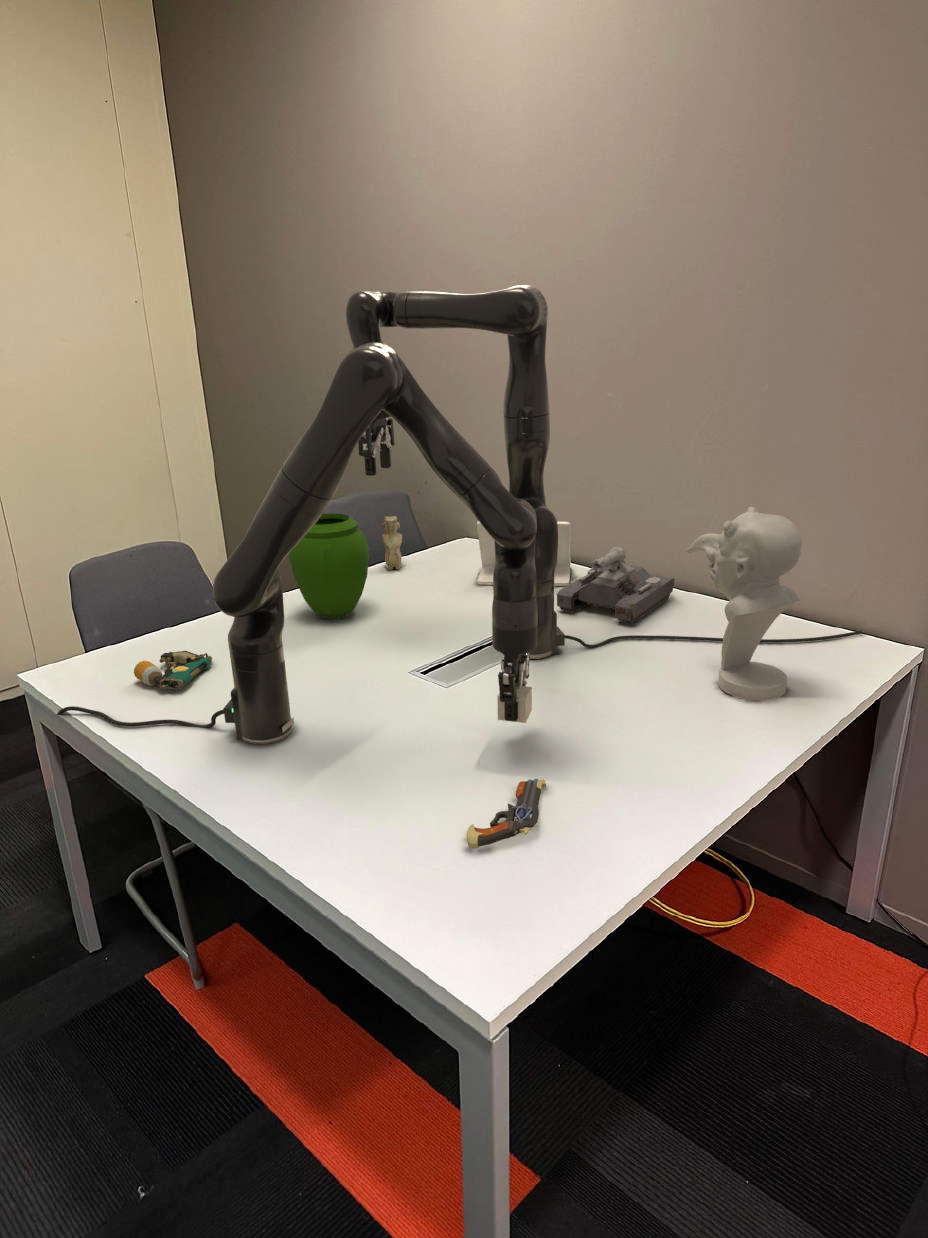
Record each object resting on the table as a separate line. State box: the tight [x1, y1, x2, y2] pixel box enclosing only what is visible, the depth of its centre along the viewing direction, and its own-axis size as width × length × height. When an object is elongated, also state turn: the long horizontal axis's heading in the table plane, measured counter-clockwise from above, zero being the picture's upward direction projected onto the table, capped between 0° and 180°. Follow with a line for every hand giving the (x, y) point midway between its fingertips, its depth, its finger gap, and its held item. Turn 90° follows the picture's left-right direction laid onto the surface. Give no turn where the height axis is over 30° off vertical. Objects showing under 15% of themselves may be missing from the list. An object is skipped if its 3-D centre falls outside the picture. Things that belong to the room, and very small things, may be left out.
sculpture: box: [381, 515, 403, 570], centre depth 247 cm, size 6×7×15 cm
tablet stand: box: [476, 520, 572, 587], centre depth 236 cm, size 18×25×17 cm
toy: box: [556, 546, 676, 624], centre depth 212 cm, size 25×20×15 cm
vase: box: [288, 512, 370, 620], centre depth 209 cm, size 20×20×24 cm
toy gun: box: [466, 778, 547, 850], centre depth 128 cm, size 3×19×10 cm
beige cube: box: [497, 685, 533, 724], centre depth 146 cm, size 5×5×5 cm
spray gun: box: [133, 650, 213, 690], centre depth 180 cm, size 4×17×15 cm
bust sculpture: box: [686, 506, 803, 701], centre depth 166 cm, size 16×24×35 cm, turn 28°
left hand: (515, 712), depth 147 cm, fingers closed on beige cube, 5 cm apart
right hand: (378, 471), depth 183 cm, fingers open, 8 cm apart
